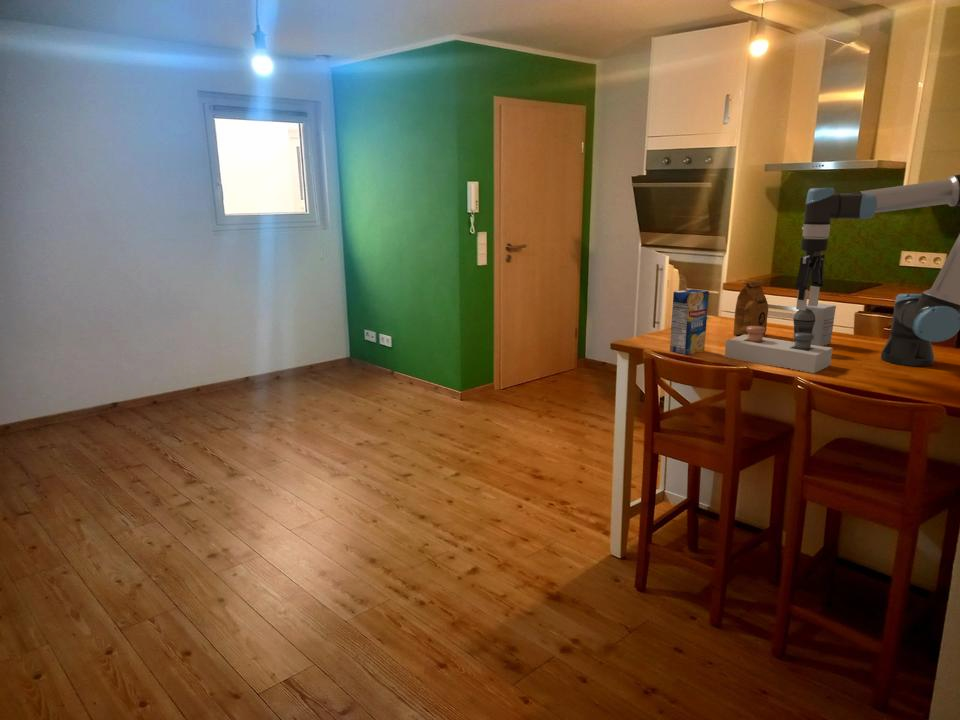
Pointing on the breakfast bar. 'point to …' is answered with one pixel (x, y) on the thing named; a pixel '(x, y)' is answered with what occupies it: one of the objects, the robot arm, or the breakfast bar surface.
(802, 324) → the beverage cup
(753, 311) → the coffee package
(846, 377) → the breakfast bar surface
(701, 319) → the beverage box
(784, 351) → the plunger panel
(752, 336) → the terracotta plunger
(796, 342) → the charcoal plunger
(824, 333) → the supplement box
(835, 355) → the breakfast bar surface
